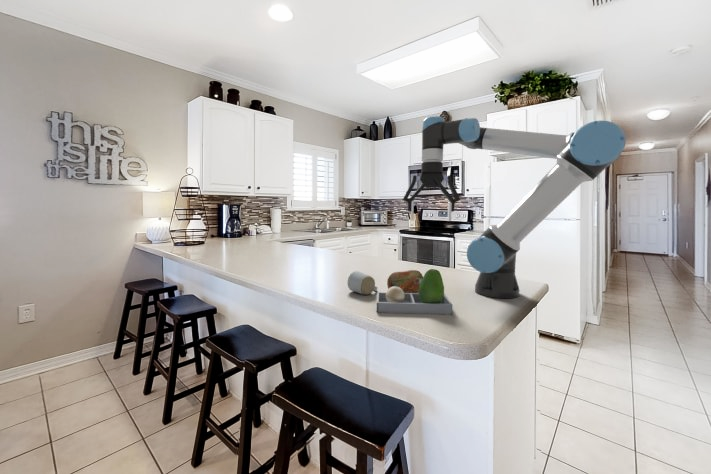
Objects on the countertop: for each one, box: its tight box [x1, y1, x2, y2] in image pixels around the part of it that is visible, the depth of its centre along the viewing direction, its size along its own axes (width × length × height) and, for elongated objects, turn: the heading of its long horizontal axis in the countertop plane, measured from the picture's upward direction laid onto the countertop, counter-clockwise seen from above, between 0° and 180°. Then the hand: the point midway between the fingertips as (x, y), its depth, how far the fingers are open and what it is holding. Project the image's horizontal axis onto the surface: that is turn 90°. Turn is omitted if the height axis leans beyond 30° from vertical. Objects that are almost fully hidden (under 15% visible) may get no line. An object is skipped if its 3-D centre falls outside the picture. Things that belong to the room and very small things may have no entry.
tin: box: [386, 269, 424, 293], centre depth 121 cm, size 15×3×8 cm, turn 117°
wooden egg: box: [385, 286, 405, 303], centre depth 105 cm, size 6×6×6 cm
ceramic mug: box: [347, 270, 378, 296], centre depth 122 cm, size 11×8×8 cm
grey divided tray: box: [376, 291, 453, 315], centre depth 105 cm, size 23×12×3 cm, turn 86°
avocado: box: [418, 268, 445, 304], centre depth 104 cm, size 8×8×12 cm
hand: (430, 220), depth 121 cm, fingers open, 13 cm apart
